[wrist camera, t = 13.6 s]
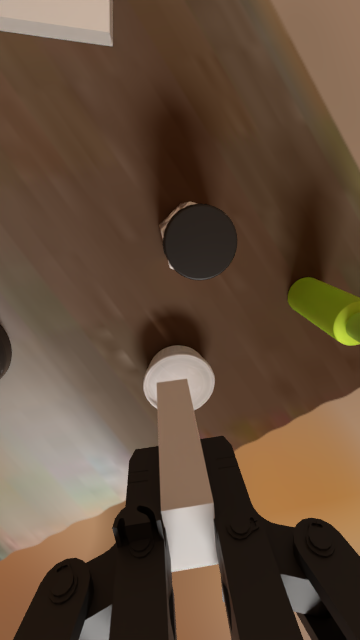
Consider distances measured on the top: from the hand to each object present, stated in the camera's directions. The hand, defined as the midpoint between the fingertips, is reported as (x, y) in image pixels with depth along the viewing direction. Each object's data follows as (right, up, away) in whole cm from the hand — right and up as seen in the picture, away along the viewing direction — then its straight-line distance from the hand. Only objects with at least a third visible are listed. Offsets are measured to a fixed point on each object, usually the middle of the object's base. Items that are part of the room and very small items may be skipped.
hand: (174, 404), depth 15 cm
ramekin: (0, -4, +37) cm, 37 cm away
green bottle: (+20, +9, +34) cm, 40 cm away
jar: (+1, +17, +29) cm, 33 cm away
